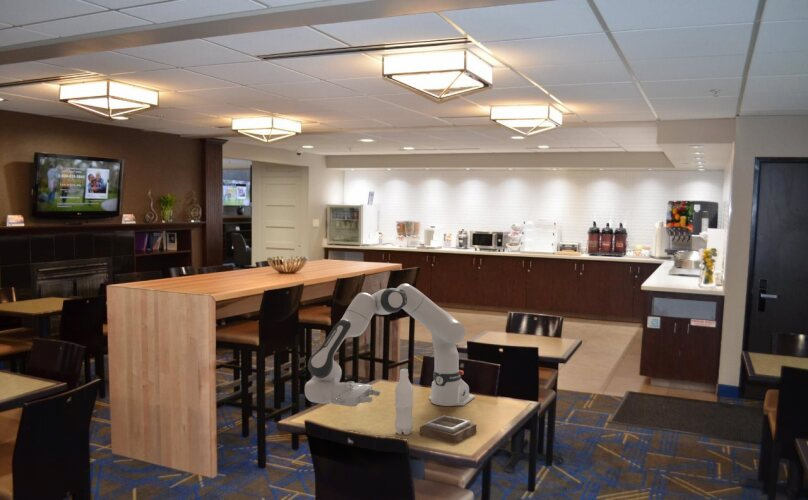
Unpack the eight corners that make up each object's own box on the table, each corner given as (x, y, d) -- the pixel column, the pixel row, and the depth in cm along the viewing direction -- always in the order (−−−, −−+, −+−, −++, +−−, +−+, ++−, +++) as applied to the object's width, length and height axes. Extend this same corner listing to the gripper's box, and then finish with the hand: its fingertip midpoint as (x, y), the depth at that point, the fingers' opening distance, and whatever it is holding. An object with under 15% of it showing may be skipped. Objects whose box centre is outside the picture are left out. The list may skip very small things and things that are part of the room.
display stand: (442, 424, 264) (442, 413, 264) (476, 431, 255) (476, 420, 255) (419, 434, 251) (419, 423, 251) (454, 443, 242) (454, 431, 242)
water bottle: (394, 430, 257) (394, 367, 255) (412, 429, 257) (412, 367, 256) (395, 436, 250) (395, 372, 248) (414, 435, 250) (414, 371, 249)
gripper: (332, 392, 250) (366, 395, 246) (352, 380, 270) (383, 382, 266) (333, 409, 250) (366, 411, 246) (352, 395, 270) (383, 397, 266)
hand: (375, 396), depth 256 cm, fingers open, 8 cm apart
